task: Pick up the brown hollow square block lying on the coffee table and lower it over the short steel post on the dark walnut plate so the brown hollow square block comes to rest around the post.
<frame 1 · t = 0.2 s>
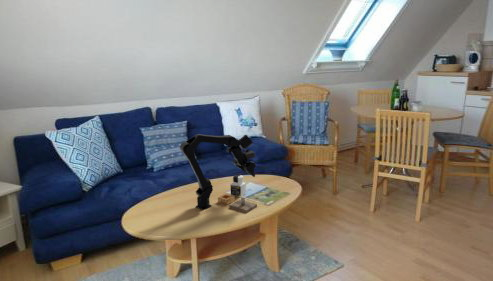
hand: (250, 174, 202), 14 cm above the table, fingers open, 9 cm apart
brown hollow square block: (226, 201, 199), on the table
medicine bottle: (238, 194, 210), on the table
keeper plate: (243, 207, 191), on the table
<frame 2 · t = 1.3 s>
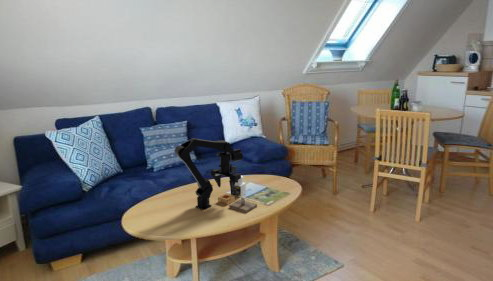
hand: (225, 188, 198), 8 cm above the table, fingers open, 9 cm apart
nothing on the table moved.
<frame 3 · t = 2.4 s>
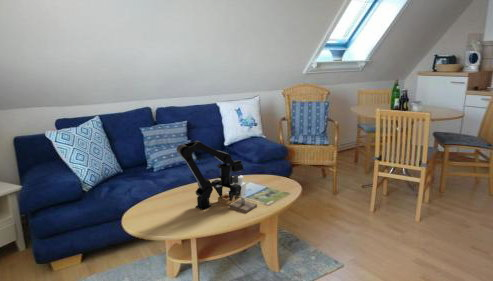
hand: (226, 199, 199), 1 cm above the table, fingers closed on brown hollow square block, 7 cm apart
brown hollow square block: (226, 201, 199), on the table, touching gripper
everything else where it was.
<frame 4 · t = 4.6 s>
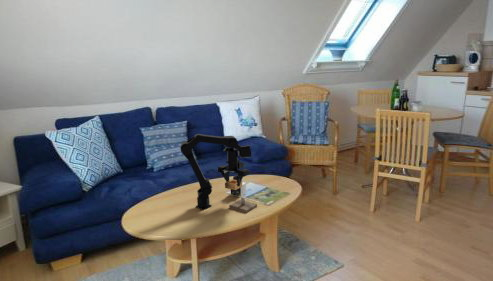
hand: (233, 185, 193), 11 cm above the table, fingers closed on brown hollow square block, 7 cm apart
brown hollow square block: (233, 187, 194), point 10 cm above the table, touching gripper
everything else where it was.
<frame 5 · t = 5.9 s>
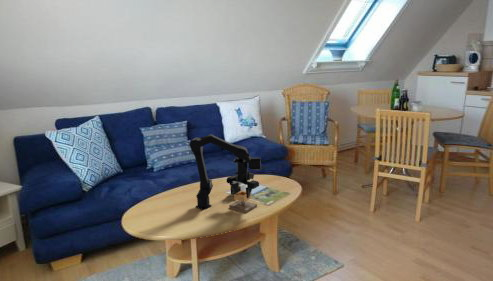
hand: (242, 196, 190), 6 cm above the table, fingers closed on brown hollow square block, 7 cm apart
brown hollow square block: (242, 198, 190), point 5 cm above the table, touching gripper
everything else where it was.
when the fingers open (4 cm above the table, at t = 6.9 s): brown hollow square block drops 1 cm, resting on keeper plate.
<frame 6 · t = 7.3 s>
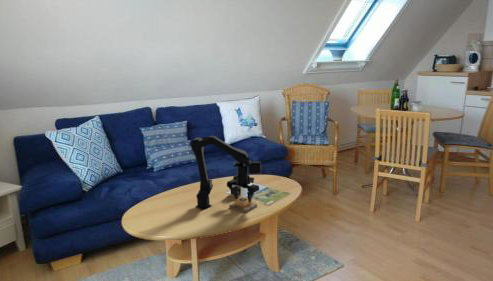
hand: (242, 200, 190), 4 cm above the table, fingers open, 9 cm apart
brown hollow square block: (243, 204, 191), point 1 cm above the table, touching keeper plate
everything else where it was.
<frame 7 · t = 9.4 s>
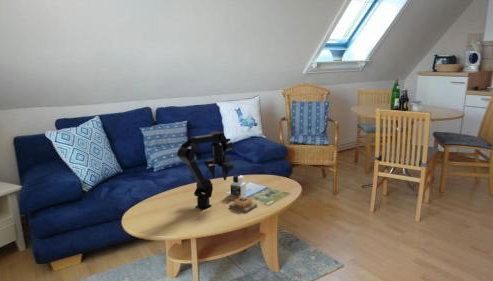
hand: (219, 178, 200), 13 cm above the table, fingers open, 9 cm apart
nothing on the table moved.
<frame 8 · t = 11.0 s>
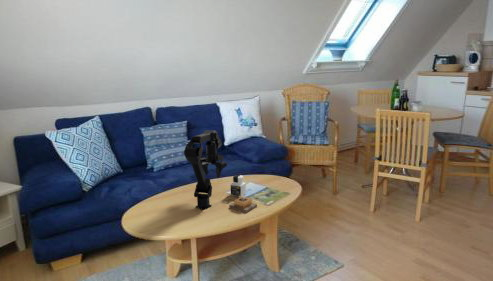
hand: (212, 176, 204), 13 cm above the table, fingers open, 9 cm apart
nothing on the table moved.
at the end: brown hollow square block 0.1 cm off-centre on the keeper plate, point 1.5 cm above the keeper plate's base; brown hollow square block tilted 0°; the gripper is holding nothing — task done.
